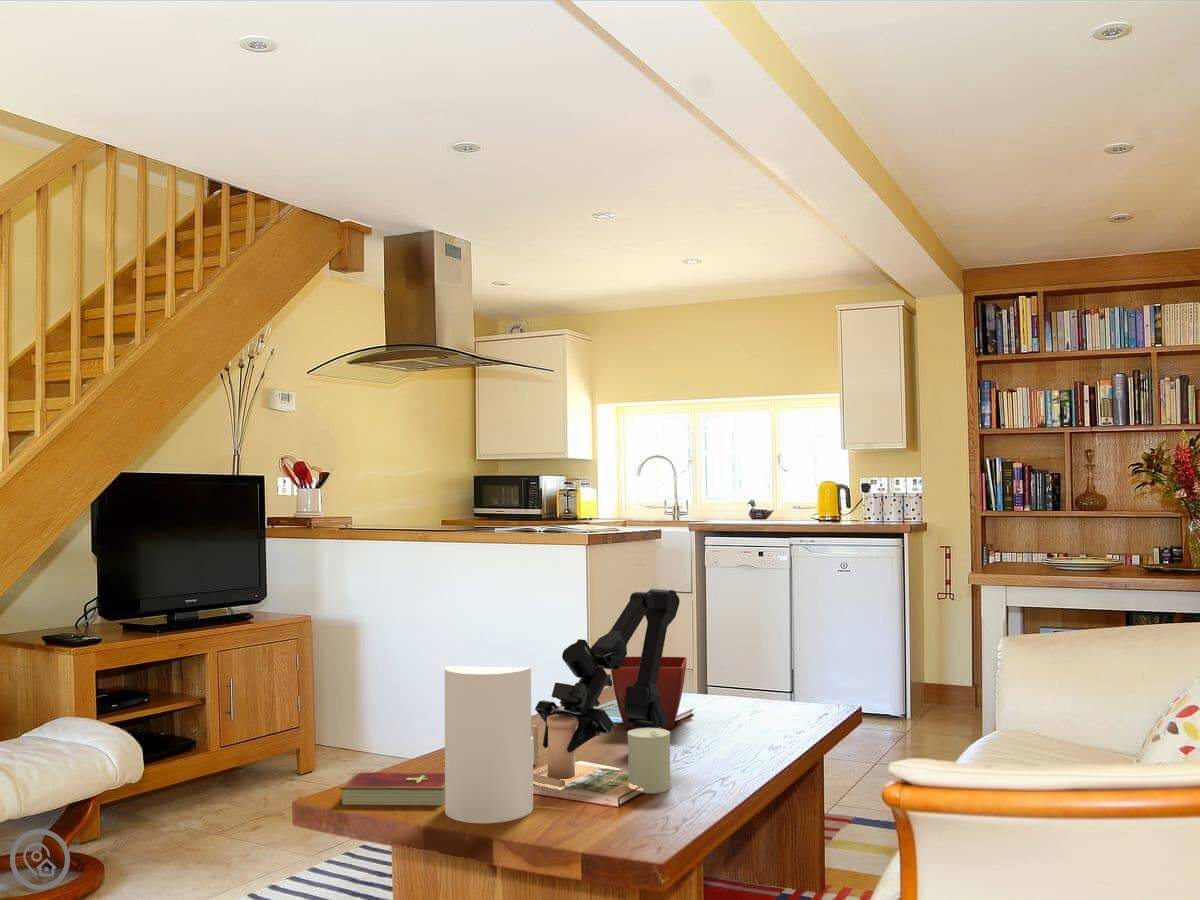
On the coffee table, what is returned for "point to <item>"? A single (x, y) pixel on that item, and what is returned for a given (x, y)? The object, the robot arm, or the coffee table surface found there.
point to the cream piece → (547, 779)
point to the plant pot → (667, 685)
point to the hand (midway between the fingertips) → (556, 749)
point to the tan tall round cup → (561, 746)
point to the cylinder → (488, 744)
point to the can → (649, 759)
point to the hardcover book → (394, 789)
